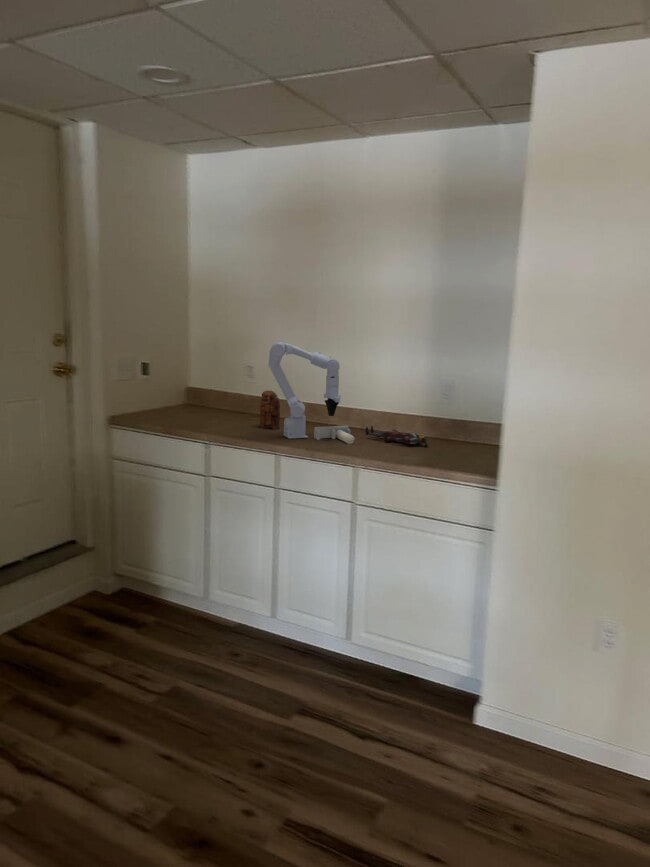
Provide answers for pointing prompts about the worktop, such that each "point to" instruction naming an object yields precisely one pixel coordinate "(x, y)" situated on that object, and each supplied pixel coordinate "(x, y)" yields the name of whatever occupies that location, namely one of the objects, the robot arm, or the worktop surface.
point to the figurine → (398, 436)
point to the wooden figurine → (269, 410)
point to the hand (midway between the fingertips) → (331, 415)
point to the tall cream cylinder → (345, 437)
